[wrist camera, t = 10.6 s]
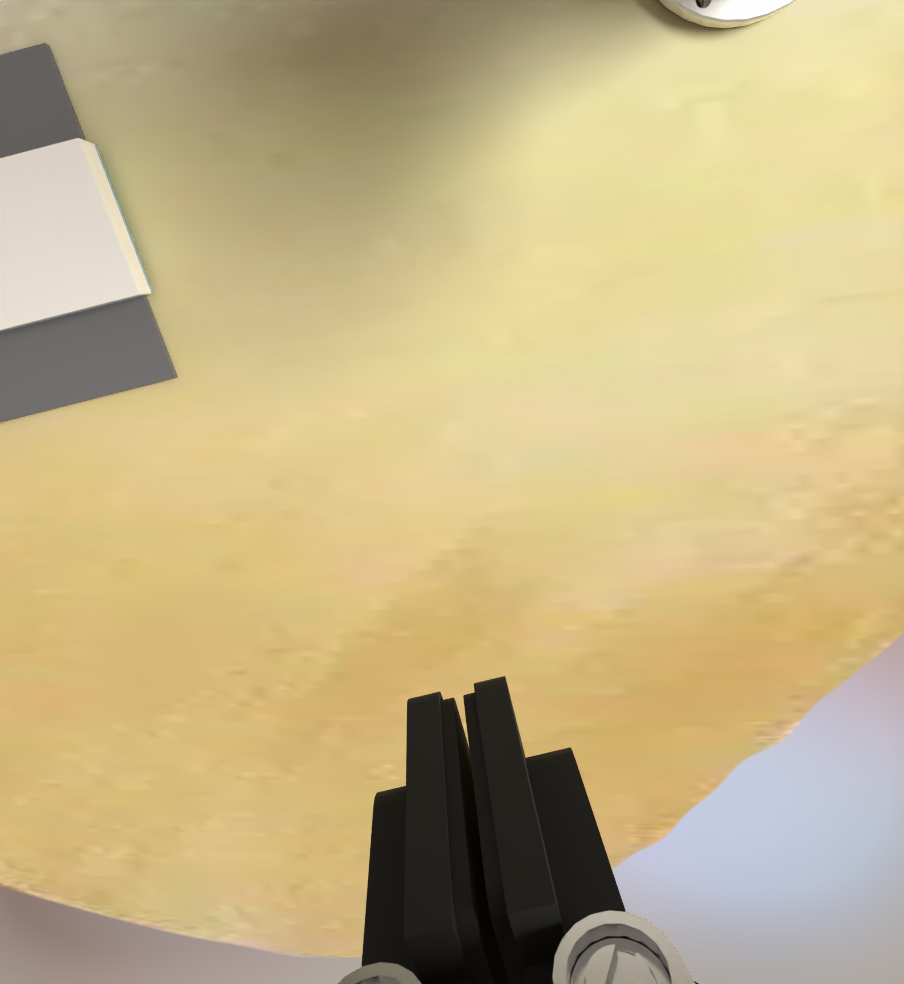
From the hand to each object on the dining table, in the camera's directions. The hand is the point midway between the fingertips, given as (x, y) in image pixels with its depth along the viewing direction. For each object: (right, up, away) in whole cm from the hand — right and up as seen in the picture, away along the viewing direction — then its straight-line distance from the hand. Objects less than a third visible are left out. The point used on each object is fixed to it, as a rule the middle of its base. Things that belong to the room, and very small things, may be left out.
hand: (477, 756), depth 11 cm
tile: (-19, +20, +25) cm, 37 cm away
